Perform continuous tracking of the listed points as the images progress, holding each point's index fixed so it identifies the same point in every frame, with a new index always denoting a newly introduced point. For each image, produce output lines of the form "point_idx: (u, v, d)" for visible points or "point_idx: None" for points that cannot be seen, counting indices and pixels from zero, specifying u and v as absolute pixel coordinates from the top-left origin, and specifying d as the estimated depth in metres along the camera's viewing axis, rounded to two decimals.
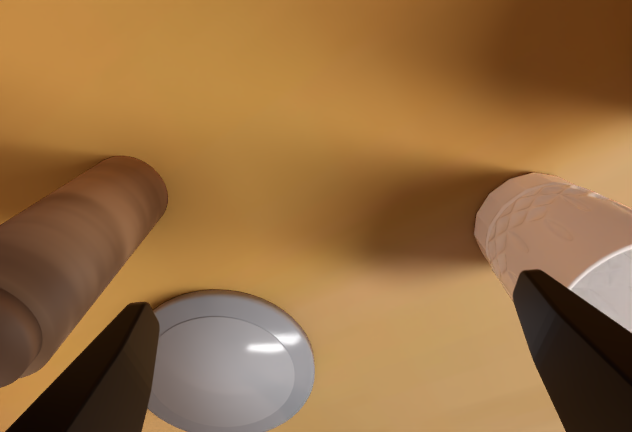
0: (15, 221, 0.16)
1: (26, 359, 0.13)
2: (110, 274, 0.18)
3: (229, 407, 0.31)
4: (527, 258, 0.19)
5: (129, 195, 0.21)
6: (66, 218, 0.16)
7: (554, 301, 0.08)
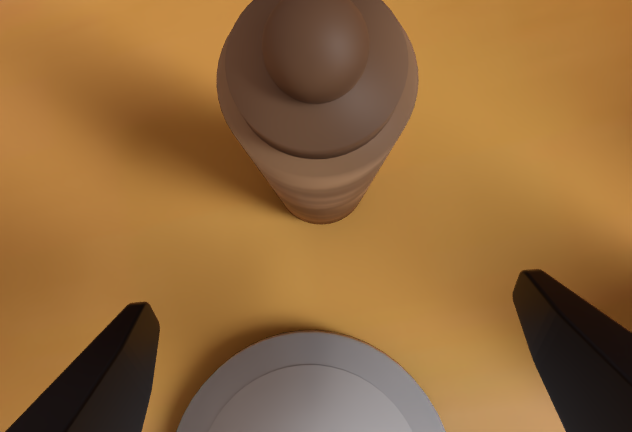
0: None
1: (385, 116, 0.09)
2: (374, 176, 0.14)
3: None
4: None
5: None
6: None
7: (554, 301, 0.08)
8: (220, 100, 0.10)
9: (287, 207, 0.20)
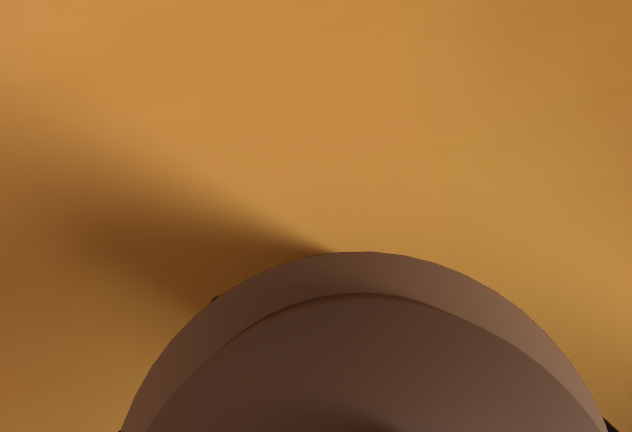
0: None
1: None
2: None
3: None
4: None
5: None
6: None
7: None
8: None
9: None
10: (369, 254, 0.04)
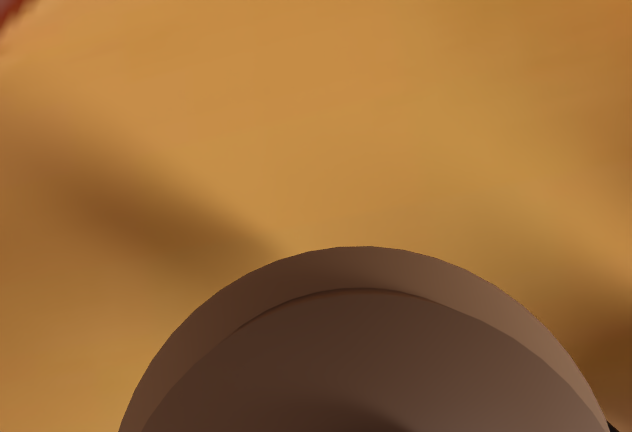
0: None
1: None
2: None
3: None
4: None
5: None
6: None
7: None
8: None
9: None
10: (369, 249, 0.04)
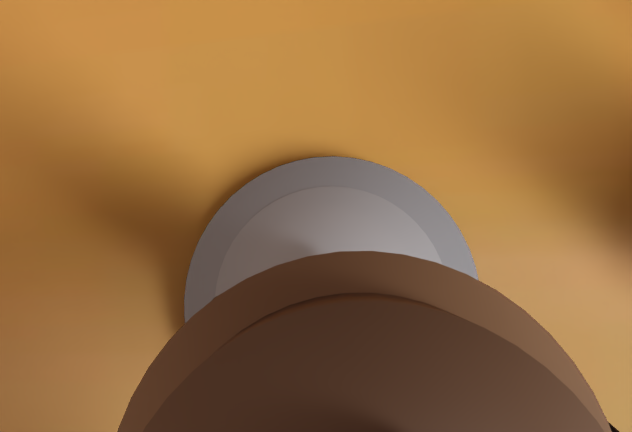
0: None
1: None
2: None
3: None
4: None
5: None
6: None
7: None
8: None
9: None
10: (369, 253, 0.04)
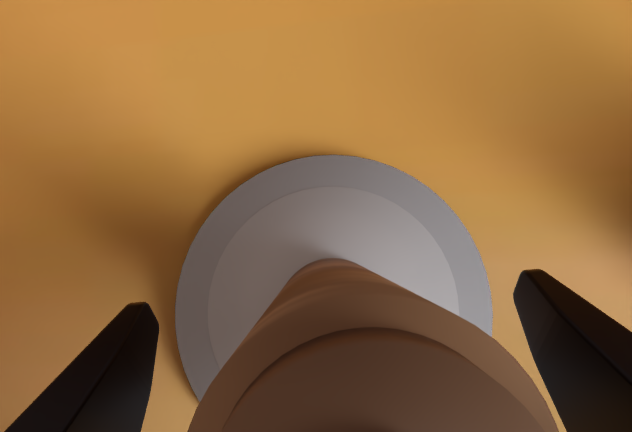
0: (373, 276, 0.08)
1: None
2: None
3: None
4: None
5: None
6: None
7: (555, 301, 0.08)
8: None
9: None
10: (378, 297, 0.05)
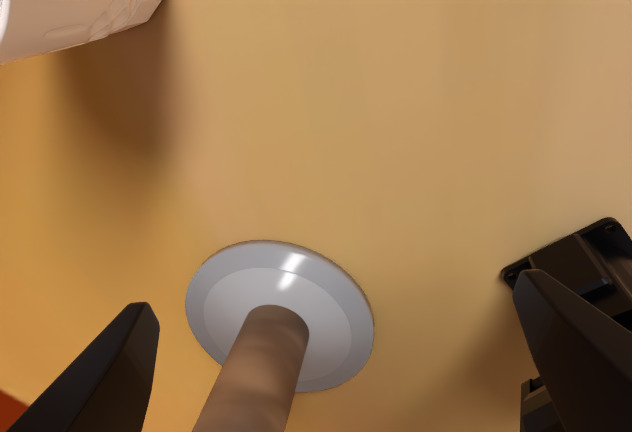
0: None
1: None
2: (250, 417, 0.21)
3: (320, 339, 0.28)
4: None
5: (237, 351, 0.24)
6: (198, 420, 0.21)
7: (554, 301, 0.08)
8: None
9: None
10: None
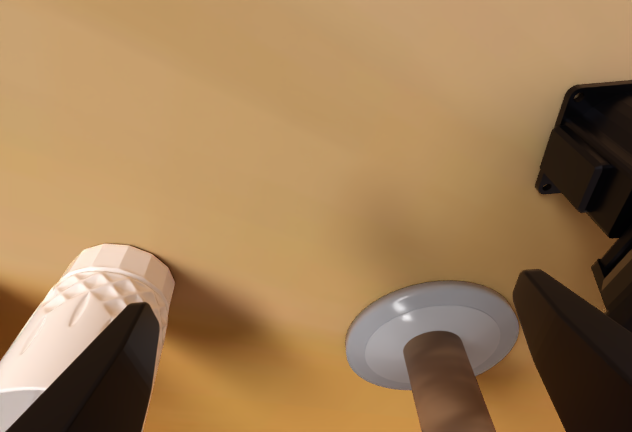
0: None
1: None
2: None
3: (466, 330, 0.31)
4: None
5: (415, 395, 0.29)
6: None
7: (554, 301, 0.08)
8: None
9: (469, 362, 0.31)
10: None
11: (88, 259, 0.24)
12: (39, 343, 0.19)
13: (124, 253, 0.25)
